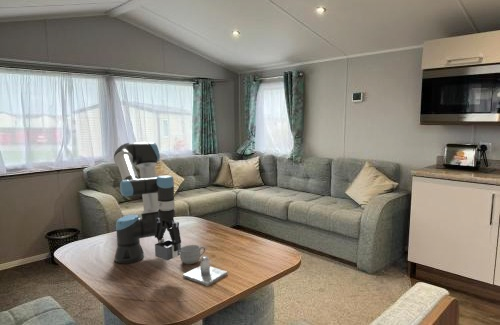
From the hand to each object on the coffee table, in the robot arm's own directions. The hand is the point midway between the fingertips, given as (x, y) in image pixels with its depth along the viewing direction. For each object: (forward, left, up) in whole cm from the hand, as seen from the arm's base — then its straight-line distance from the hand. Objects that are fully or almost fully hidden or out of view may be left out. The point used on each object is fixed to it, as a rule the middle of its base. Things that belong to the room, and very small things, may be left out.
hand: (168, 254), depth 160 cm
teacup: (-3, +20, -12) cm, 23 cm away
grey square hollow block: (0, 0, 0) cm, 0 cm away
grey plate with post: (+14, +11, -11) cm, 21 cm away
